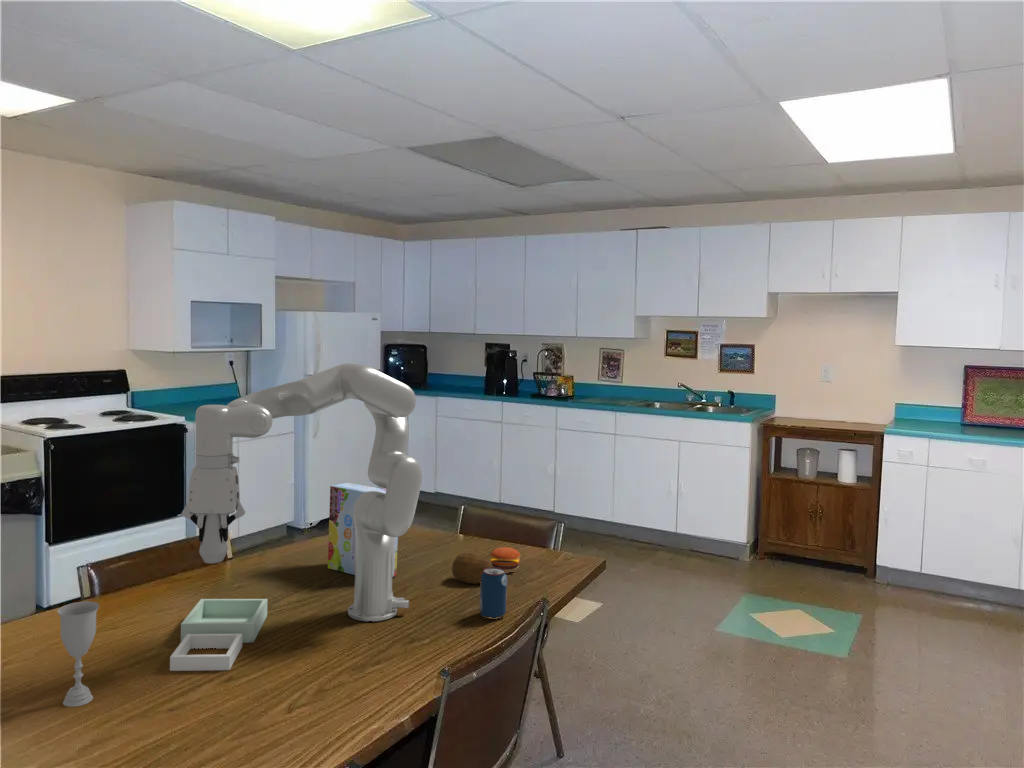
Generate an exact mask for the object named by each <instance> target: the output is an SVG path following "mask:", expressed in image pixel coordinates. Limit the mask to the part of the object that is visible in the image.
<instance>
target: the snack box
mask: <svg viewBox="0 0 1024 768" xmlns="http://www.w3.org/2000/svg"><path fill="white" fill-rule="evenodd" d="M329 488H330V489H329V492H330V493H329V494H330V495H329V512H328V513H329V517H328V519H329V520H328V548H327V549H328V551H327V553H328V554H327V569H329V570H334V571H338V572H341V573H345V574H350V575H354V576H355V560H356V531H355V524H354V516H353V511H354V505H355V503H356V501H357V499H358V498H359V497H360V496H361V495H362V494H364V493H366V492H369V491H378V492H382V493H386V489H385V488H381V487H375V486H374V487H373V486H369V485H364V484H363V485H362V484H357V483H351V482H345V483H338V484H331V485H330V487H329ZM398 541H399V537H393V572H392V578H394V577H396V576H397V572H398V571H397V570H398V568H397V567H398V565H397V564H398V543H399V542H398Z"/></svg>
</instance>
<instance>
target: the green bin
mask: <svg viewBox="0 0 1024 768" xmlns="http://www.w3.org/2000/svg"><path fill="white" fill-rule="evenodd" d="M267 617H268V598H200V600H199V601H198V602H197V603H196V605H195V606H193V608H192V610H190V612H189V613H188V614H187V616H186V617H185V619H183V621H182V622H181V623H180V643H181V642H182V641H183V639H184V638H185V637H186V635H187V634H243V644H250V643H252V644H254V643H255V641H256V639H257V636H258V634H259V633H260V631H261V629H262V627H263V626H264V624H265V621H266V620H267Z"/></svg>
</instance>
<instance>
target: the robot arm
mask: <svg viewBox="0 0 1024 768" xmlns="http://www.w3.org/2000/svg"><path fill="white" fill-rule="evenodd" d="M416 398H417V397H416V394H415V391H414V390H413V389H412V388H411V387H410V386H409V385H408V384H406V383H404V382H402V381H400V380H397V379H396V378H394V377H391V376H389V375H387V374H385V373H384V372H382V371H379V370H378V369H375V368H373V367H371V366H369V365H366V364H357V363H347V362H346V363H342V364H341V363H340V364H339V365H335V366H332V367H330V368H328V369H325V370H323V371H320V372H317V373H314V374H312V375H308V376H306V377H303V378H300V379H298V380H295V381H292V382H291V381H290V382H286V383H283V384H281V385H280V384H279V385H276V386H273V387H269V388H264V389H261V390H258V391H255V392H252V393H249V394H247V395H244V396H241V397H238V398H237V399H234V400H232V401H230V402H228V403H227V404H226V405H224V404H204V405H201V406H199V407H197V409H196V411H195V438H194V439H195V443H194V444H195V445H194V446H195V447H194V448H195V454H194V455H195V456H194V457H195V458H194V459H195V461H194V463H195V464H194V466H193V467H192V470H191V472H190V477H189V485H188V492H187V493H188V494H187V503H186V504H185V506H184V508H183V510H182V511H181V516H182V517H183V518H187V519H189V520H191V522H192V523H194V524H195V525H196V527H197V528H198V542H200V545H201V546H202V542H203V537H204V532H205V528H204V527H205V520H206V515H207V514H208V512H209V511H210V510H212V509H213V510H214V513H215V514H220V516H221V528H220V529H219V533H220V540H221V543H222V539H224V541H227V542H228V540H229V526H230V525H231V524H232V523H233V522H234V521H236V520H237V519H239V518H242V517H244V515H245V514H246V511H245V509H244V506H243V505H242V503H241V497H240V496H241V495H240V494H241V493H240V482H239V481H240V480H239V474H238V469H237V466H234V464H239V463H240V456H236V455H234V452H233V447H234V446H233V445H234V444H233V443H234V442H233V439H234V438H245V439H257V438H260V437H263V436H264V435H266V434H267V433H268V432H269V431H270V430H271V429H272V427H273V420H274V419H277V418H278V419H279V418H283V417H300V416H307V415H312V414H315V413H317V412H320V411H322V410H325V409H327V408H330V407H331V406H334V405H336V404H339V403H342V402H344V401H347V400H350V399H351V400H352V399H353V400H357V401H361V402H362V403H363V404H364V407H365V408H366V409H367V410H368V411H369V412H370V414H371V415H372V418H373V420H374V424H375V425H374V426H375V433H374V441H373V444H372V449H371V454H370V458H369V463H368V467H367V477H368V479H369V481H370V482H371V483H372V484H374V485H376V486H377V487H378V488H381V489H386V493H382V492H378V491H369V492H366V493H364V494H362V495H361V496H360V497H359V498H358V499H357V501H356V503H355V505H354V511H353V516H354V524H355V531H356V560H355V575H354V590H353V591H354V593H353V594H354V596H353V597H354V598H353V603H352V604H350V606H348V607H347V615H348V616H349V617H350V618H351V619H353V620H356V621H360V622H369V621H372V622H382V621H386V620H389V619H391V618H393V617H395V616H396V615H397V614H398V608H403V609H404V608H406V609H407V608H409V607H410V606H409V605H410V599H405V597H396V596H394V592H393V577H392V572H393V537H398V538H399V537H401V536H404V535H405V534H406V533H407V532H408V530H410V527H411V526H412V523H413V521H414V517H415V514H416V509H417V505H418V499H419V497H420V496H419V495H420V493H421V492H420V491H421V487H422V482H423V473H422V468H421V465H420V463H419V462H418V460H417V459H415V458H414V457H413V456H410V455H407V452H406V451H407V447H408V441H409V435H410V434H409V433H410V427H409V422H408V419H407V417H409V415H411V414H412V413H413V411H414V410H415V408H416V405H417V399H416ZM230 514H231V515H230Z"/></svg>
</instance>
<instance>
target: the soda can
mask: <svg viewBox="0 0 1024 768" xmlns="http://www.w3.org/2000/svg"><path fill="white" fill-rule="evenodd" d="M479 585H480V591H479V609H478V610H479V614H480V615H481V617H482V616H485V617H492V618H496V617H501V616H503V615H504V616H505V614H506V611H507V597H508V595H507V594H508V592H507V591H508V575H507V573H505V570H504V569H502V568H497V567H490V568H485V569H484V570H483V574H482V575H481V584H479ZM504 616H503V617H504Z"/></svg>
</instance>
